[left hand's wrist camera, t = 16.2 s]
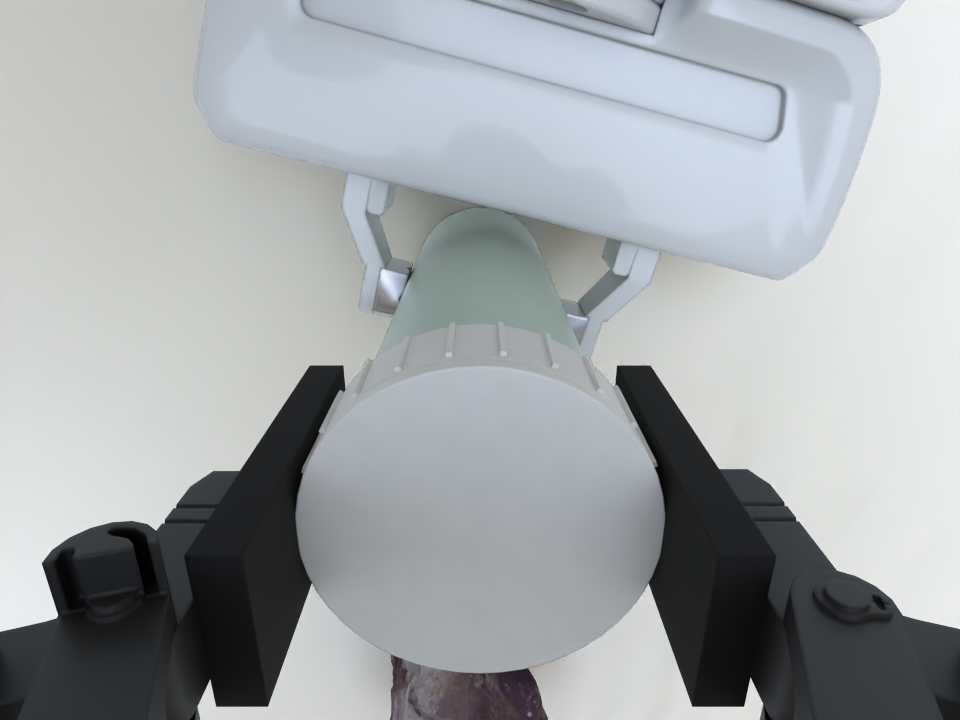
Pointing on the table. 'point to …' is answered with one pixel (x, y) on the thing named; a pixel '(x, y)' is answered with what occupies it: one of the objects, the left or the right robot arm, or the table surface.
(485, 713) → the rock
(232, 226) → the table surface
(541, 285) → the jar
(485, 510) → the lid
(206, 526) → the left robot arm
